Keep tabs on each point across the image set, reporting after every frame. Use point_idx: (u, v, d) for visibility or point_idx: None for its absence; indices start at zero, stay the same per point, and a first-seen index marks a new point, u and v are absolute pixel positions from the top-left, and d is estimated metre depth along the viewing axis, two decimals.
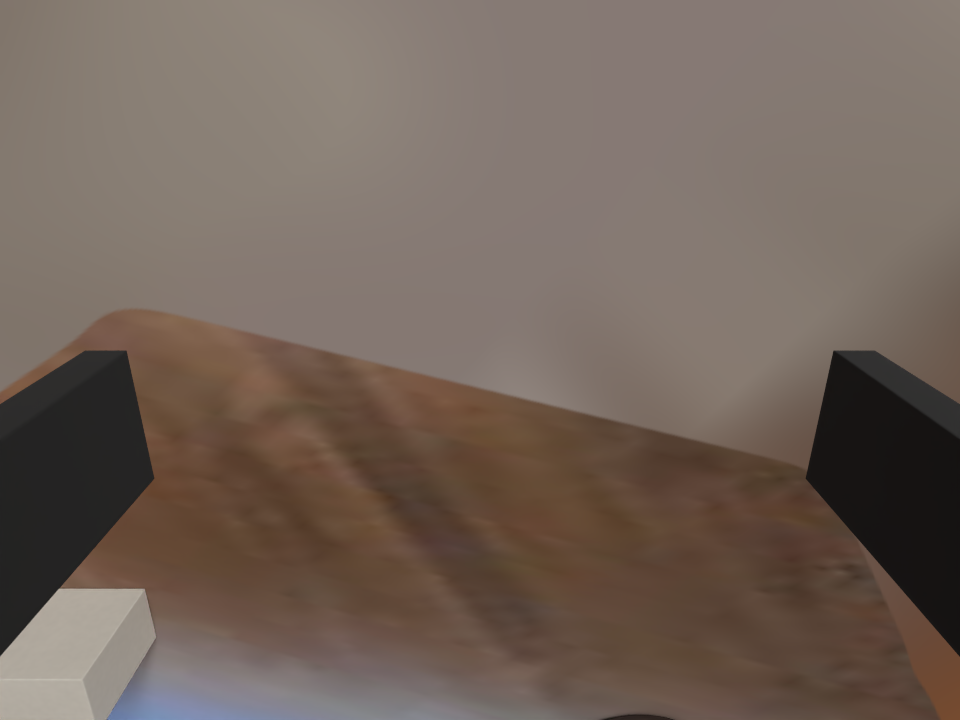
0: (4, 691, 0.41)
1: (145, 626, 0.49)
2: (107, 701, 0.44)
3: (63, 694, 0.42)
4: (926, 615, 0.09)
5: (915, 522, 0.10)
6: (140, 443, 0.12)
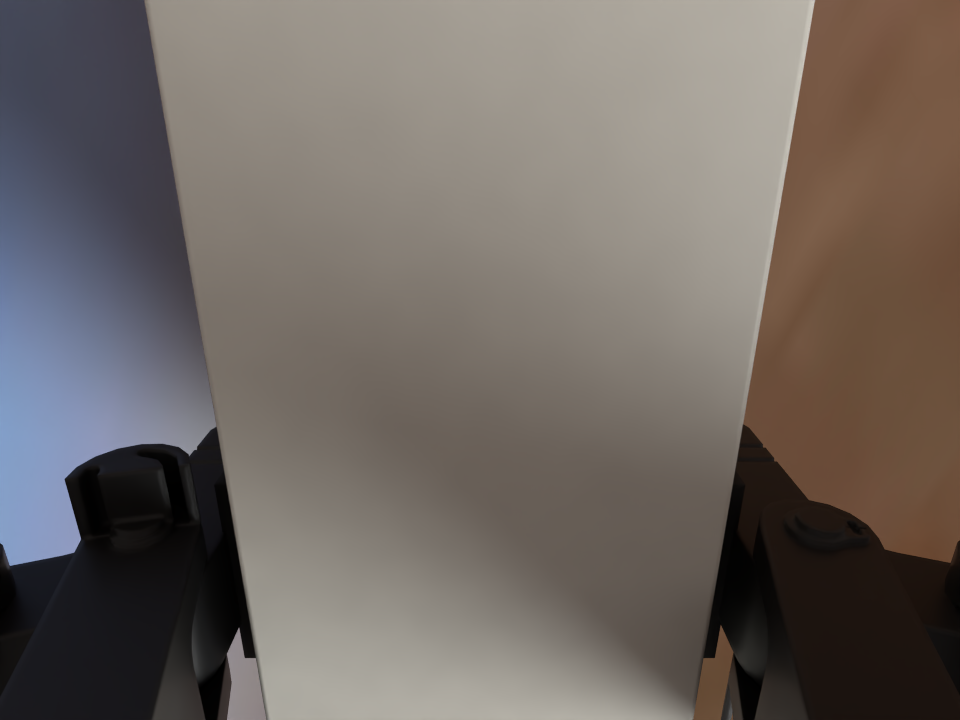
0: (626, 515, 0.06)
1: None
2: None
3: None
4: None
5: None
6: None
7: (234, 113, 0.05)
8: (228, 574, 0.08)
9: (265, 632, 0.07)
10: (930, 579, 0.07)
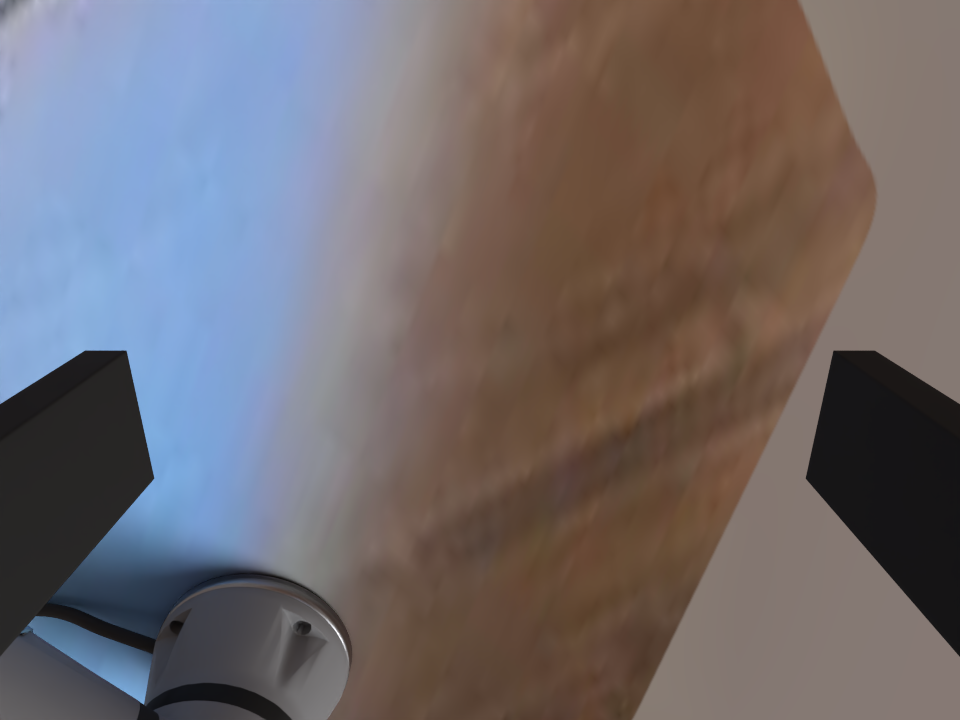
0: None
1: None
2: None
3: None
4: (926, 615, 0.09)
5: (915, 522, 0.10)
6: (140, 443, 0.12)
7: None
8: None
9: None
10: None
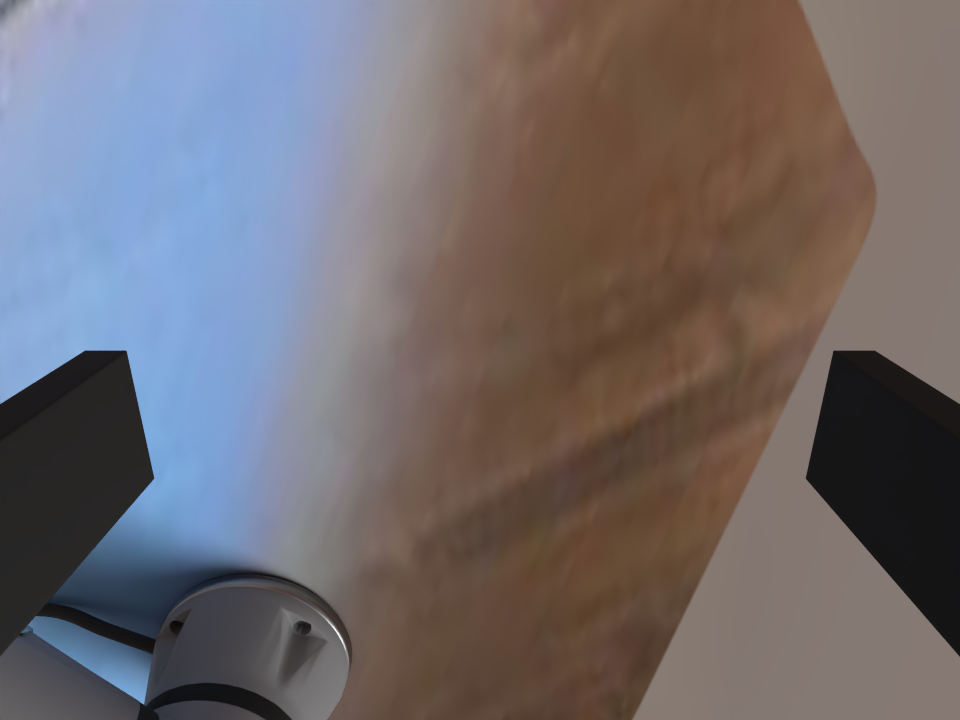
0: None
1: None
2: None
3: None
4: (926, 615, 0.09)
5: (915, 522, 0.10)
6: (140, 443, 0.12)
7: None
8: None
9: None
10: None
